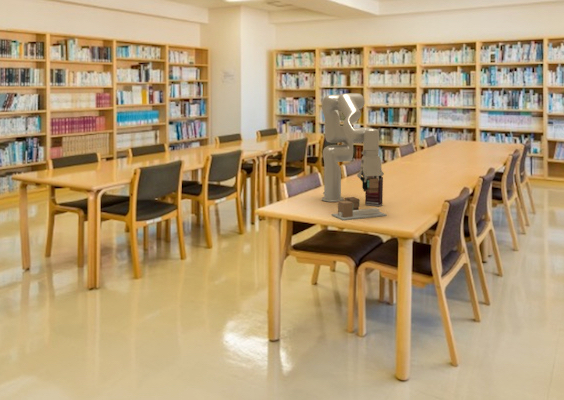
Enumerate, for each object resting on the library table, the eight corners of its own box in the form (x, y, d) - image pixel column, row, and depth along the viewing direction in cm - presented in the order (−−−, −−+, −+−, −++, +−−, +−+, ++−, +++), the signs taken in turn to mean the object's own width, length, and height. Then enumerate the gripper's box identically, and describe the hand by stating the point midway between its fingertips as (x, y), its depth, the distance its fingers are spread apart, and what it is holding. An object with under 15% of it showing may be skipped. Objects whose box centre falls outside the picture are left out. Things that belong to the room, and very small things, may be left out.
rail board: (331, 215, 296) (331, 200, 295) (373, 211, 306) (374, 196, 304) (343, 220, 286) (343, 204, 284) (386, 215, 295) (387, 200, 294)
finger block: (362, 191, 297) (362, 177, 296) (371, 190, 299) (372, 177, 298) (368, 193, 292) (368, 179, 290) (378, 192, 294) (378, 178, 292)
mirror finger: (344, 210, 308) (344, 197, 307) (354, 209, 310) (354, 196, 309) (350, 212, 303) (350, 199, 301) (359, 211, 305) (360, 198, 304)
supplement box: (382, 205, 322) (383, 176, 319) (379, 206, 318) (380, 177, 315) (368, 203, 326) (368, 175, 323) (364, 205, 322) (365, 176, 319)
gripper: (359, 155, 285) (359, 191, 288) (389, 153, 292) (388, 189, 295) (352, 153, 292) (351, 189, 295) (381, 152, 299) (380, 186, 302)
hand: (370, 188), depth 295 cm, fingers closed on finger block, 5 cm apart
